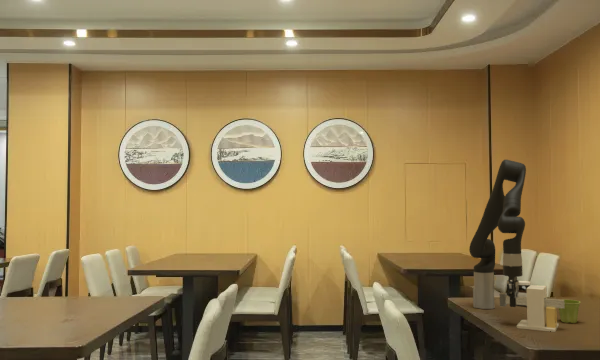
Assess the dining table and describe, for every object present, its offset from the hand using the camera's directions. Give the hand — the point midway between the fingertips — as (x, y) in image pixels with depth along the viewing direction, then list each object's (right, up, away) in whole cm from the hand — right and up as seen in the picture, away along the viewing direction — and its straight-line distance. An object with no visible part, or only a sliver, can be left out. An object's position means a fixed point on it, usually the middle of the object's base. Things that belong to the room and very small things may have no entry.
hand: (513, 305), depth 220 cm
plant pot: (+25, -8, +4) cm, 27 cm away
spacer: (+12, -2, -8) cm, 15 cm away
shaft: (+6, 0, -4) cm, 7 cm away
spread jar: (+24, -10, +42) cm, 50 cm away
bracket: (+8, -7, -5) cm, 12 cm away
